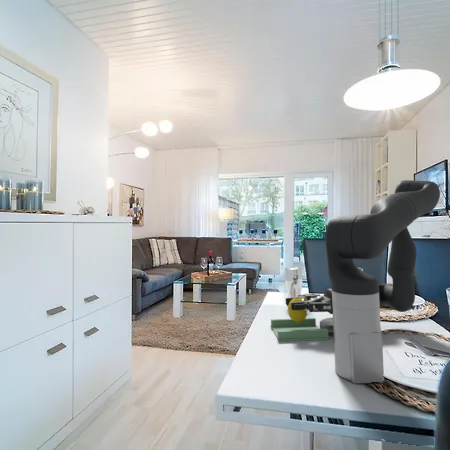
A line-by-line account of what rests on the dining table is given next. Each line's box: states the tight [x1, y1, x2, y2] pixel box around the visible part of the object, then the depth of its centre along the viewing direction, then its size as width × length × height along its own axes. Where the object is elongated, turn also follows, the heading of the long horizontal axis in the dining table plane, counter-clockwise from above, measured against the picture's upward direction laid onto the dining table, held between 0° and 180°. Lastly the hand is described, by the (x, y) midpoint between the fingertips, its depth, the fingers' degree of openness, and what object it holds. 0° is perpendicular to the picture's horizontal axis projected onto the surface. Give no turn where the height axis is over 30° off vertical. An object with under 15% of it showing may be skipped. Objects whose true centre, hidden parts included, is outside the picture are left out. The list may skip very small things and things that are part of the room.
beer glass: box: [284, 267, 303, 307], centre depth 124 cm, size 7×7×15 cm
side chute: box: [270, 317, 330, 342], centre depth 91 cm, size 14×14×2 cm
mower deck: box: [319, 317, 334, 338], centre depth 91 cm, size 14×14×2 cm
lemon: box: [287, 297, 308, 324], centre depth 91 cm, size 6×6×8 cm
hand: (288, 304), depth 91 cm, fingers closed on lemon, 5 cm apart
